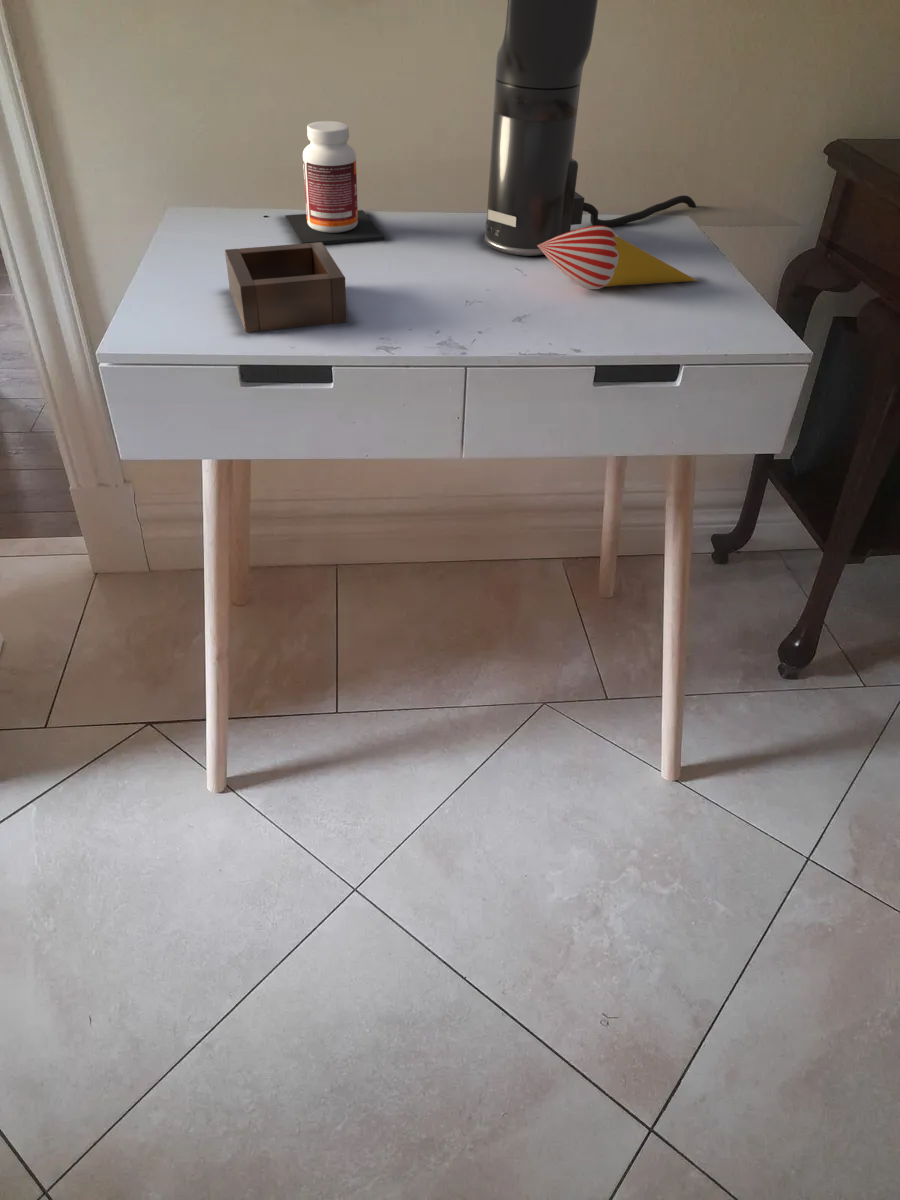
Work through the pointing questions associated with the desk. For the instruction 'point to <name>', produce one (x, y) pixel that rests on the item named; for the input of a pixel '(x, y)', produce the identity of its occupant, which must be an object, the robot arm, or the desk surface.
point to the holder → (286, 286)
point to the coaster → (359, 233)
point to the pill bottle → (330, 178)
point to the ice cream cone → (606, 260)
